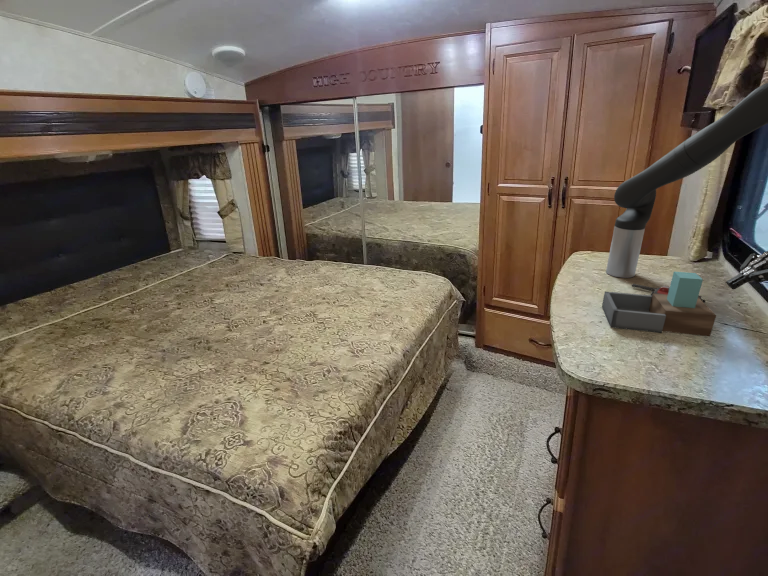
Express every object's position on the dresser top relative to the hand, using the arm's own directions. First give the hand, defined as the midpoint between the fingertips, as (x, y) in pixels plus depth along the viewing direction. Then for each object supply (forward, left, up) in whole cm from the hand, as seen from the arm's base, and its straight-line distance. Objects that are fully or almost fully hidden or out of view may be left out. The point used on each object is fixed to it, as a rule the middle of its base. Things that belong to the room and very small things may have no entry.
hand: (729, 286), depth 105 cm
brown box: (0, -9, -12) cm, 15 cm away
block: (0, -10, -6) cm, 11 cm away
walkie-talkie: (-19, -7, -12) cm, 24 cm away
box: (0, -21, -12) cm, 24 cm away
